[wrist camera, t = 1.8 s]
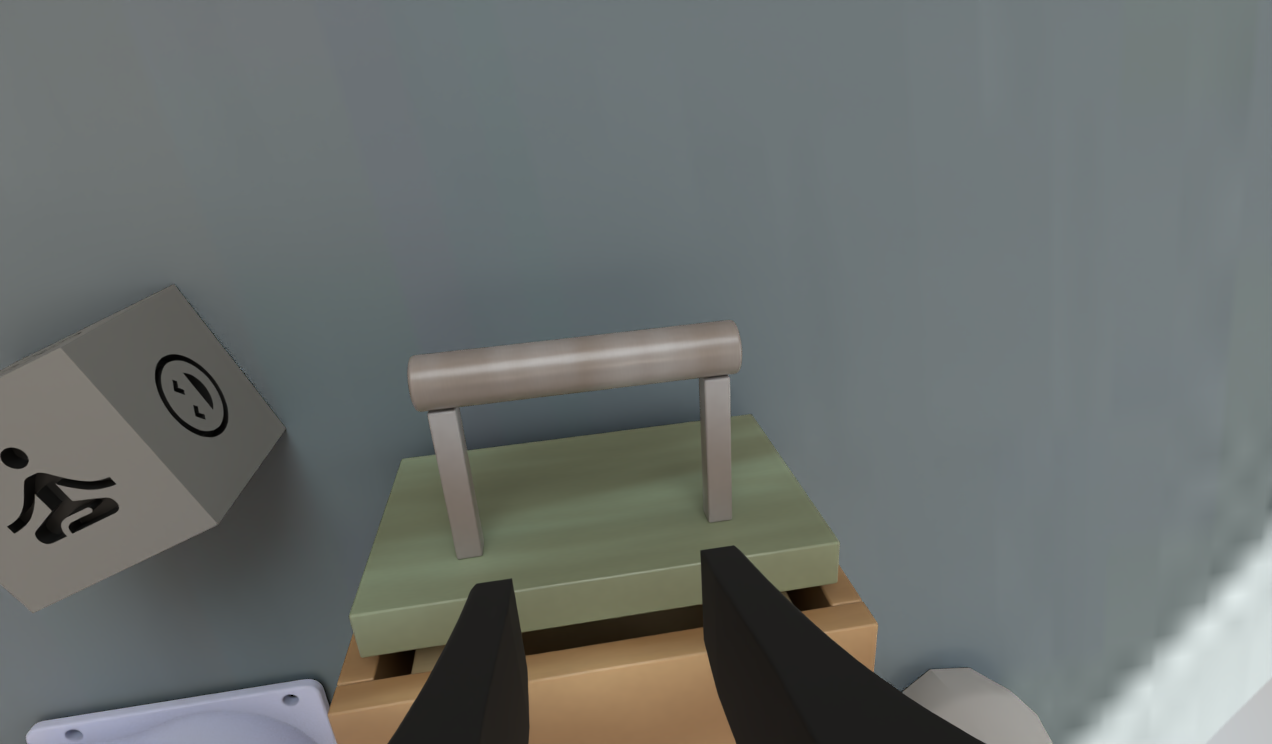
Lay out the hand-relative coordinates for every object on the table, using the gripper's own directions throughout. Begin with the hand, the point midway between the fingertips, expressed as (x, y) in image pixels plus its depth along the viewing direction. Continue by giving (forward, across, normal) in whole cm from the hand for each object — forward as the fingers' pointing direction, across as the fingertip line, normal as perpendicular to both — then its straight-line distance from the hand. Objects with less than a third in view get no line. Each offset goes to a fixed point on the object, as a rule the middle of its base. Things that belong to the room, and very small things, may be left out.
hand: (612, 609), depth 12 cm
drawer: (+10, 0, +5) cm, 11 cm away
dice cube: (+11, +12, -1) cm, 16 cm away
